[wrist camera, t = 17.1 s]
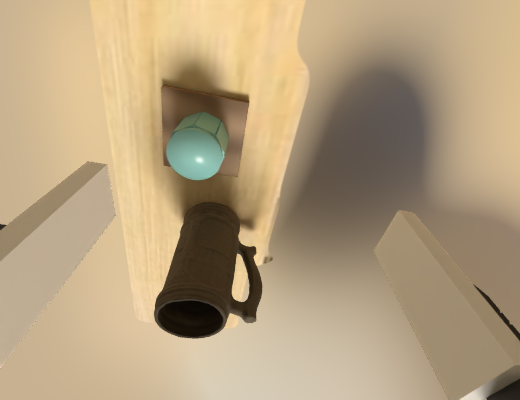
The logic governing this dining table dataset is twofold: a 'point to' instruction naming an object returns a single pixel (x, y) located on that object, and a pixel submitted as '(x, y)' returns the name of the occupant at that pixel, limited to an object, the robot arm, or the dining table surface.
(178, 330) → the beer stein
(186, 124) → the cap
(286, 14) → the dining table surface
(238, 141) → the post block
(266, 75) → the dining table surface
